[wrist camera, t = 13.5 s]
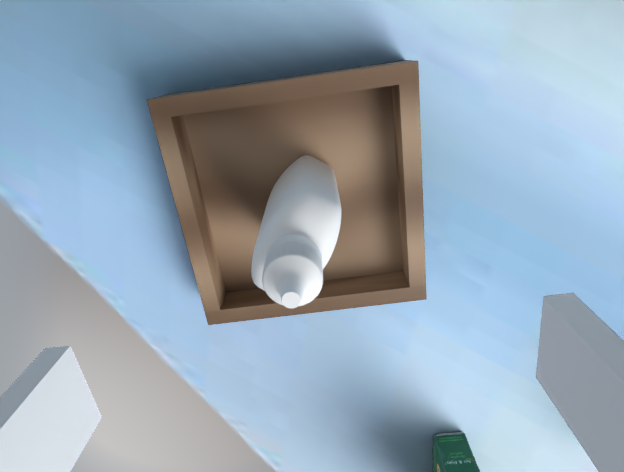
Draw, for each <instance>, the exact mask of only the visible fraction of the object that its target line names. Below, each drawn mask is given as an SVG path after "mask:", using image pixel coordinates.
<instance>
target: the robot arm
mask: <svg viewBox="0 0 624 472" xmlns="http://www.w3.org/2000/svg"><path fill="white" fill-rule="evenodd" d="M536 378H537V380H538V381H539V383H540V384H541V386H542V387H543V389H544V390H545V392H546V393H547V395H548V396H549V398H550V399H551V401H552V402H553V404H554V405H555V407H556V408H557V410H558V411H559V413H560V414H561V416H562V417H563V419H564V420H565V422H566V423H567V425H568V426H569V428H570V429H571V431H572V432H573V434H574V435H575V437H576V438H577V440H578V441H579V443H580V444H581V446H582V447H583V449H584V450H585V452H586V453H587V455H588V456H589V458H590V459H591V461H592V462H593V464H594V465H595V467H596V468H597V470H598V471H599V472H624V341H623V340H622V339H621V338H620V337H619V336H618V335H617V334H616V333H615V332H614V331H613V330H612V329H611V328H610V327H609V326H608V325H607V324H606V323H605V322H603V321H602V320H601V319H600V318H599V317H598V316H597V315H596V314H595V313H594V312H593V311H592V310H591V309H590V308H589V307H588V306H587V305H586V304H585V303H583V302H582V301H581V300H580V299H579V298H578V297H577V296H576V295H575V294H574V293H567V294H558V295H548V296H543V307H542V318H541V328H540V339H539V350H538V360H537V371H536ZM101 418H102V416H101V414H100V412H99V410H98V408H97V405H96V403H95V401H94V398H93V396H92V394H91V392H90V389H89V387H88V385H87V382H86V380H85V378H84V376H83V373H82V371H81V369H80V366H79V364H78V362H77V360H76V357H75V355H74V353H73V351H72V349H71V346H63V347H53V348H45V349H44V350H43V351H42V352H41V353H40V354H39V355H38V356H37V357H36V359H35V360H34V361H33V362H32V363H31V364H30V365H29V366H28V367H27V368H26V370H25V371H24V372H23V373H22V374H21V375H20V376H19V377H18V378H17V379H16V380H15V381H14V383H13V384H12V385H11V386H10V387H9V388H8V389H7V390H6V391H5V392H4V393H3V395H2V396H1V397H0V472H70V471H71V469H72V468H73V466H74V464H75V463H76V461H77V459H78V458H79V456H80V454H81V452H82V451H83V449H84V447H85V446H86V444H87V442H88V441H89V439H90V437H91V435H92V434H93V432H94V430H95V428H96V427H97V425H98V424H99V422H100V420H101Z"/></svg>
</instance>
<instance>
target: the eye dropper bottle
mask: <svg viewBox="0 0 624 472" xmlns="http://www.w3.org/2000/svg"><path fill="white" fill-rule="evenodd" d="M341 211H342V210H341V203H340V198H339V193H338V188H337V183H336V178H335V174H334V170H333V169H332V168H331V167H330V166H329V165H327V164H325V163H323V162H322V161H320V160H318V159H316V158H314V157H312V156H309V155H304V156H301V157H300V158H298V159H297V160H296V161H294V162H293V163H292V164H291V165H290V166H289V167H288V168H287V169H286V170H285V171H284V172H283V174H282V175H281V176H280V178H279V179H278V180H277V182H276V184H275V185H274V187H273V189H272V191H271V194H270V196H269V199H268V202H267V205H266V209H265V212H264V216H263V219H262V223H261V226H260V230H259V233H258V237H257V240H256V244H255V248H254V252H253V258H252V269H251V273H252V279H253V282H254V284H255V285H256V286H258V287H259V288H260V289H262V290H264V291H266V294H268V296H269V298H271V299H272V300H274V302H276V303H279V304H281V305H284V306H285V307H287V308H296V307H298V306H302V305H305V304H307V303H309V302H311V301H312V300H314V298H316V296H318V294H319V293H320V291H321V288H322V285H323V269H324V267H325V266H326V264H327V263H328V261H329V259H330V257H331V255H332V253H333V251H334V248H335V245H336V242H337V239H338V235H339V231H340V225H341Z"/></svg>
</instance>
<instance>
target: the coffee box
mask: <svg viewBox="0 0 624 472" xmlns="http://www.w3.org/2000/svg"><path fill="white" fill-rule="evenodd" d="M433 472H480V470H479V468H478V466H477V464H476V461H475V458H474V456H473V454H472V451H471V449H470V446H469V444H468V441H467V438H466V436H465V434H464V433H463V432H455V433H441V434H437V435H435V436H433Z"/></svg>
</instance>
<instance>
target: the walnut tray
mask: <svg viewBox="0 0 624 472" xmlns="http://www.w3.org/2000/svg"><path fill="white" fill-rule="evenodd" d="M147 102H148V106H149V110H150V113H151V117H152V121H153V124H154V128H155V132H156V135H157V139H158V143H159V146H160V150H161V154H162V157H163V161H164V165H165V168H166V172H167V176H168V179H169V183H170V187H171V190H172V194H173V197H174V201H175V205H176V208H177V212H178V216H179V219H180V223H181V227H182V230H183V234H184V238H185V241H186V245H187V249H188V252H189V256H190V260H191V263H192V267H193V271H194V274H195V278H196V282H197V285H198V289H199V293H200V296H201V300H202V304H203V307H204V311H205V314H206V318H207V322H208V325H212V324H221V323H229V322H238V321H246V320H254V319H263V318H271V317H280V316H288V315H297V314H305V313H314V312H322V311H331V310H339V309H348V308H356V307H365V306H373V305H382V304H390V303H399V302H407V301H416V300H424V299H426V274H425V245H424V216H423V188H422V159H421V130H420V101H419V73H418V61H410V60H404V61H397V62H390V63H383V64H376V65H369V66H362V67H355V68H348V69H341V70H335V71H328V72H321V73H314V74H307V75H300V76H293V77H286V78H279V79H272V80H265V81H258V82H251V83H244V84H237V85H231V86H224V87H217V88H210V89H203V90H196V91H189V92H182V93H175V94H168V95H163V96H159V97H156V98H152V99H148V100H147ZM304 155H309V156H312V157H314V158H316V159H318V160H320V161H322V162H323V163H325V164H327V165H329V166H330V167H331V168H332V169H333V170H334V174H335V178H336V183H337V188H338V193H339V198H340V203H341V210H342V211H341V225H340V231H339V235H338V239H337V242H336V245H335V248H334V251H333V253H332V255H331V257H330V259H329V261H328V263H327V264H326V266H325V267H324V269H323V285H322V288H321V291H320V293H319V294H318V296H316V298H314V300H312V301H311V302H309V303H307V304H305V305H302V306H298V307H296V308H287V307H285V306H284V305H281V304H279V303H276V302H274V300H272V299H271V298H269V296H268V294H266V291H264V290H262V289H260V288H259V287H258V286H256V285H255V284H254V282H253V279H252V273H251V269H252V258H253V252H254V248H255V244H256V240H257V237H258V233H259V230H260V226H261V223H262V219H263V216H264V212H265V209H266V205H267V202H268V199H269V196H270V194H271V191H272V189H273V187H274V185H275V184H276V182H277V180H278V179H279V178H280V176H281V175H282V174H283V172H284V171H285V170H286V169H287V168H288V167H289V166H290V165H291V164H292V163H293V162H294V161H296V160H297V159H298V158H300V157H301V156H304Z"/></svg>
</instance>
